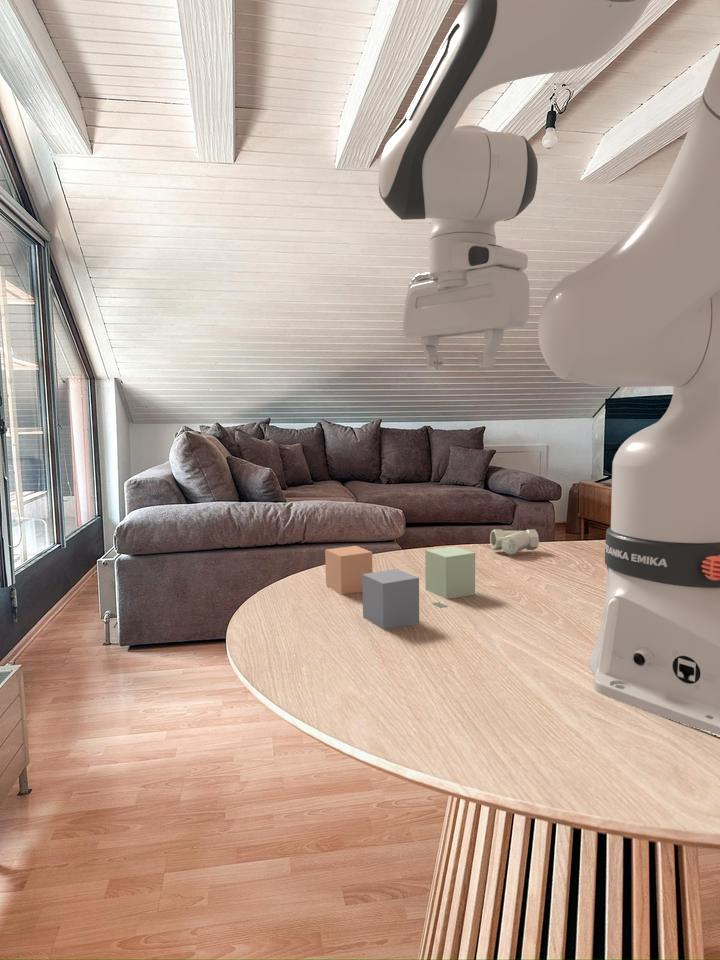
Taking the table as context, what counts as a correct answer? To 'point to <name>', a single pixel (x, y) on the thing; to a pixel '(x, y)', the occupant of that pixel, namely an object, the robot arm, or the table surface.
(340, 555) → the terracotta block
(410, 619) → the slate block
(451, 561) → the sage block
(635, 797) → the table surface
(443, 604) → the small gray-green block
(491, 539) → the pipe fitting
